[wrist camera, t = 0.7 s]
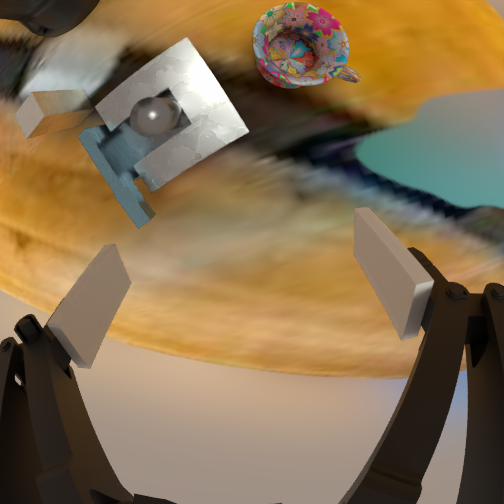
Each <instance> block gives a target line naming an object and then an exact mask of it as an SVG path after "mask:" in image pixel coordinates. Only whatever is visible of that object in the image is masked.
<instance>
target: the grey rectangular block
mask: <svg viewBox="0 0 504 504" xmlns="http://www.w3.org/2000/svg"><path fill="white" fill-rule="evenodd" d="M94 110H95V108H94V106H93V105H92V103H91V101H90V100H89V98H88V96H87V95H86V93H85V92H84V90H57V91H39V92H31V94H30V95H29V96H28V98H27V99H26V100H25V102H24V103H23V104H22V106H21V107H20V109H19V110H18V111H17V113H16V114H15V118H16V120H17V122H18V124H19V126H20V128H21V130H22V132H23V134H24V136H25V138H26V139H29V138H33V137H36V136H40V135H43V134H47V133H51V132H55V131H59V130H63V129H67V128H72V127H76V126H78V125H79V124H80V123H81V122H82V121H83V120H84V119H85V118H86V117H87V116H88V115H89V114H90V113H92V112H93V111H94Z"/></svg>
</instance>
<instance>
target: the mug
mask: <svg viewBox="0 0 504 504" xmlns="http://www.w3.org/2000/svg"><path fill="white" fill-rule="evenodd" d="M252 43H253V49H254V52H255V62H256V66H257V68H258V70H259V72H260V73H261V75H262V76H263V77H264V78H265V79H266V80H267V81H269V82H270V83H272V84H274V85H276V86H279V87H282V88H290V89H292V88H300V87H303V86H311V85H317V84H321V83H324V82H327V81H329V80H331V79H332V78H334V77H337V78H340V79H343V80H346V81H350V82H354V83H357V82H359V81H360V79H361V77H360V75H359V74H358V73H357V72H356V71H354V70H353V69H351V68H349V67H347V66H345V64H346V62H347V59H348V55H349V42H348V38H347V35H346V33H345V31H344V29H343V27H342V26H341V24H340V23H339V22H338V21H337V19H336V18H334V17H333V16H332V15H331V14H330V13H328V12H327V11H325V10H323V9H321V8H319V7H317V6H314V5H311V4H307V3H299V2H292V3H285V4H281V5H278V6H275V7H273V8H271V9H270V10H268V11H267V12H265V13H264V14H263V15H262V16H261V17H260V18H259V20H258V21H257V23H256V25H255V27H254V30H253V36H252ZM341 71H344V72H346V73H347V74H349V75H351V76H349V75H346V74H343V73H340V72H341Z"/></svg>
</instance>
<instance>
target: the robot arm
mask: <svg viewBox="0 0 504 504" xmlns="http://www.w3.org/2000/svg"><path fill="white" fill-rule="evenodd" d="M98 2H99V0H0V19H8V20H16V21H19V22H21V23H22V24H23V25H24V26H25V27H26V28H28V29H29V30H30V31H31V32H32V33H34V34H36V35H39V36H45V37H55V36H58V35H61V34H63V33H65V32H67V31H69V30H71V29H72V28H74V27H75V26H76V25H78V24H79V23H80V22H81V21H82V20H83V19H84V18H85V17H86V16H87V15H88V14H89V13H90V12H91V11H92V10H93V9H94V7H95V6H96V5H97V3H98ZM353 254H354V256H355V258H356V259H357V261H358V263H359V264H360V266H361V268H362V269H363V271H364V273H365V275H366V276H367V278H368V280H369V282H370V283H371V285H372V287H373V289H374V290H375V292H376V294H377V296H378V297H379V299H380V301H381V303H382V305H383V307H384V308H385V310H386V312H387V314H388V316H389V318H390V320H391V322H392V323H393V325H394V327H395V329H396V331H397V333H398V335H399V337H400V339H401V341H402V340H405V339H409V338H412V337H416V336H418V333H419V330H420V327H421V326H422V328H423V329H424V331H425V335H424V337H423V340H422V342H421V345H420V348H419V352H418V355H417V358H416V361H415V363H414V366H413V369H412V371H411V374H410V376H409V379H408V381H407V384H406V386H405V389H404V391H403V393H402V396H401V398H400V400H399V403H398V405H397V407H396V409H395V411H394V413H393V415H392V417H391V420H390V421H389V424H388V426H387V427H386V429H385V431H384V433H383V435H382V437H381V439H380V441H379V442H378V444H377V446H376V448H375V449H374V452H373V453H372V455H371V456H370V458H369V460H368V462H367V463H366V465H365V466H364V468H363V469H362V471H361V473H360V474H359V476H358V477H357V479H356V480H355V482H354V483H353V485H352V486H351V488H350V489H349V490H348V491H347V493H346V494H345V495H344V497H343V498H342V499H341V501H340V502H339V503H338V504H416V503H417V501H418V499H419V497H420V494H421V491H422V486H421V482H422V479H423V476H424V474H425V472H426V470H427V468H428V465H429V463H430V461H431V458H432V456H433V454H434V451H435V449H436V446H437V444H438V441H439V438H440V436H441V433H442V430H443V427H444V424H445V421H446V418H447V415H448V412H449V409H450V405H451V402H452V398H453V395H454V391H455V387H456V383H457V379H458V375H459V370H460V366H461V361H462V356H463V350H464V345H465V350H466V362H467V378H468V420H467V437H466V448H465V458H464V465H463V472H462V478H461V484H460V489H459V494H458V498H457V503H456V504H504V286H503V285H501V284H498V283H489V284H487V285H486V287H485V289H484V292H483V294H476V293H469V291H468V290H467V289H466V288H465V287H464V286H463V285H461V284H458V283H455V282H448V281H447V280H446V279H445V277H444V276H443V275H442V274H441V273H440V272H439V271H438V269H437V268H436V267H435V266H433V264H432V263H431V261H430V260H428V258H427V257H426V256H425V255H424V254H423V253H422V252H421V251H419V250H417V249H415V248H414V247H412V248H406V247H405V246H404V245H403V244H402V243H401V241H400V240H399V239H398V238H397V237H396V236H395V235H394V234H393V233H392V232H391V231H390V230H389V228H388V227H387V226H386V225H385V224H384V223H383V222H382V221H381V220H380V219H379V218H378V217H377V216H376V215H375V214H374V213H373V212H372V211H371V210H370V209H369V208H368V207H363V208H354V249H353ZM130 285H131V281H130V279H129V276H128V274H127V272H126V269H125V267H124V265H123V262H122V260H121V257H120V255H119V252H118V250H117V247H116V244H111V245H105V246H104V247H103V248H102V249H101V251H100V252H99V253H98V254H97V256H96V257H95V258H94V259H93V261H92V262H91V263H90V264H89V266H88V267H87V268H86V270H85V271H84V272H83V273H82V275H81V276H80V277H79V279H78V280H77V281H76V283H75V284H74V285H73V287H72V288H71V290H70V291H69V292H68V294H67V295H66V297H65V298H63V300H62V301H61V302H60V304H59V305H58V306H59V307H57V308H56V310H55V312H54V313H53V314H52V316H51V317H50V319H49V320H48V322H47V323H46V325H45V326H44V328H42V327H41V325H40V324H39V322H38V321H37V319H36V317H35V316H34V315H33V314H28V315H26V316H24V317H23V318H22V319H20V320H19V321H18V323H17V324H16V325H15V328H14V331H15V332H16V334H17V335H18V336H19V338H20V339H21V341H22V342H23V343H21V344H18V343H17V342H16V340H15V339H14V338H13V337H8V338H6V339H4V340H3V341H2V342H1V344H0V504H176V503H174V502H171V501H168V500H166V499H160V498H153V497H148V496H143V495H139V494H134V497H133V496H132V495H131V494H130V493H129V492H128V491H127V490H126V489H125V488H124V487H123V486H122V485H121V483H120V482H119V480H118V478H117V476H116V474H115V473H114V471H113V469H112V467H111V465H110V463H109V461H108V459H107V457H106V455H105V453H104V451H103V448H102V446H101V444H100V442H99V440H98V437H97V435H96V433H95V430H94V428H93V426H92V424H91V421H90V418H89V416H88V413H87V410H86V408H85V405H84V402H83V399H82V397H81V394H80V391H79V388H78V385H77V381H76V378H75V375H74V371H73V369H72V367H71V366H70V365H69V363H70V361H71V359H72V360H73V361H74V363H75V364H76V365H77V366H78V367H79V368H89V369H90V368H91V366H92V363H93V361H94V359H95V357H96V354H97V352H98V350H99V348H100V345H101V343H102V341H103V339H104V337H105V335H106V333H107V330H108V328H109V326H110V324H111V322H112V320H113V318H114V316H115V314H116V312H117V310H118V308H119V306H120V304H121V302H122V300H123V298H124V296H125V294H126V293H127V291H128V289H129V287H130ZM15 375H16V376H17V378H18V379H19V380H20V381H21V385H19V384H18V383H17V382H16V381H15ZM278 504H282V503H278Z"/></svg>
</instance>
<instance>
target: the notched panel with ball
mask: <svg viewBox="0 0 504 504" xmlns="http://www.w3.org/2000/svg"><path fill="white" fill-rule="evenodd" d="M95 108H96V110H97V111H98V113H99V114H100V116H101V118H102V119H103V121H104V122H105V124H106V125H101V126H96V127H91V128H87V129H85V130H84V131H83V132H82V133H81V134H80V135H79V136H78V138H79V140H80V141H81V143H82V145H83V146H84V148H85V149H86V151H87V152H88V154H89V156H90V157H91V159H92V160H93V162H94V163H95V165H96V166H97V168H98V169H99V171H100V172H101V174H102V175H103V177H104V178H105V180H106V181H107V183H108V184H109V186H110V187H111V188H112V190H113V191H114V193H115V194H114V196H115V197H116V199H117V200H118V202H119V203H120V204H121V206H122V207H123V209H124V210H125V211H126V213H127V214H128V216H129V217H130V218H131V220H132V221H133V222H134V224H135V225H136V226H137V228H138V229H139V228H140V227H142V226H143V225H144V224H146V223H147V222H149V221H150V220H151V219H152V218H153V217H154V215H155V212H154V211H153V210H152V208H151V207H150V205H149V204H148V203H147V201H146V200H145V198H144V197H143V196H142V194H141V193H140V191H139V190H138V188H137V187H136V186H135V184H134V183H133V180H135V179H136V181H137V180H138V179H139V178H142V180H143V181H144V183H145V184H146V185H147V187H148V188H149V190H150V191H151V193H152V192H154V191H155V190H157V189H158V188H160V187H161V186H163V185H164V184H165V183H167V182H168V181H170V180H171V179H173V178H174V177H176V176H177V175H179V174H180V173H182V172H183V171H185V170H187V169H188V168H190V167H191V166H193V165H194V164H196V163H198V162H199V161H201V160H202V159H204V158H206V157H207V156H209V155H210V154H212V153H214V152H215V151H217V150H219V149H220V148H222V147H224V146H226V145H227V144H229V143H231V142H232V141H234V140H236V139H238V138H239V137H241V136H243V135H245V134H247V133H248V132H249V130H248V129H247V127H246V125H245V124H244V122H243V120H242V119H241V117H240V116H239V114H238V112H237V111H236V109H235V108H234V106H233V104H232V103H231V101H230V100H229V98H228V97H227V95H226V93H225V92H224V90H223V89H222V87H221V86H220V84H219V83H218V81H217V80H216V78H215V77H214V75H213V74H212V72H211V71H210V69H209V68H208V66H207V65H206V63H205V62H204V60H203V59H202V57H201V56H200V54H199V53H198V51H197V50H196V49H195V47H194V46H193V44H192V43H191V41H190V40H189V39H188V38H187V37H186V38H185V39H183V40H182V41H180V42H178V43H177V44H175V45H174V46H172V47H171V48H169V49H167V50H166V51H164V52H163V53H162V54H160V55H159V56H157V57H156V58H154V59H153V60H151V61H150V62H149V63H147V64H146V65H145V66H143V67H142V68H141V69H139V70H138V71H137V72H135V73H134V74H133V75H131V76H130V77H129V78H128V79H126V80H125V81H124V82H123V83H121V84H120V85H119V86H118V87H117V88H115V89H114V90H113V91H112V92H111V93H110V94H108V95H107V96H106V97H105V98H104V99H103V100H102V101H101V102H99V103H98V104H97V105H96V106H95Z"/></svg>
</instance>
